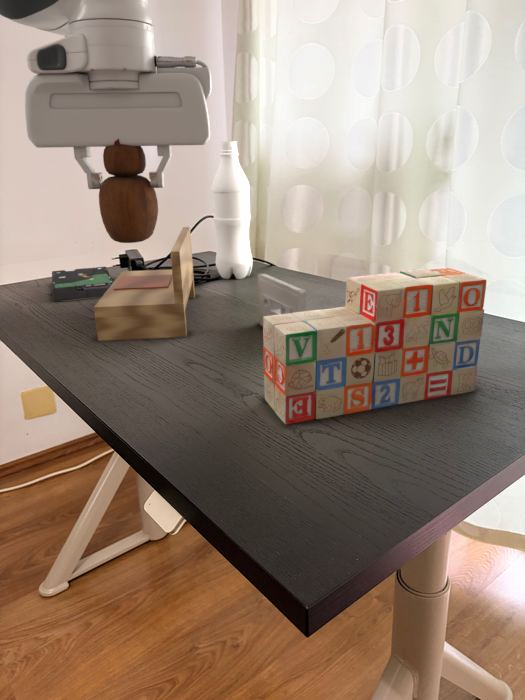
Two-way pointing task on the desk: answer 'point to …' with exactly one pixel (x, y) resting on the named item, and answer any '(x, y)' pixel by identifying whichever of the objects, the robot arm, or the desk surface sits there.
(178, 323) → the wooden bookend
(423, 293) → the stack of blocks
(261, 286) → the cassette
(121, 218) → the wooden figurine
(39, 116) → the robot arm
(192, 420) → the desk surface
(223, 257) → the water bottle
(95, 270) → the disk drive
